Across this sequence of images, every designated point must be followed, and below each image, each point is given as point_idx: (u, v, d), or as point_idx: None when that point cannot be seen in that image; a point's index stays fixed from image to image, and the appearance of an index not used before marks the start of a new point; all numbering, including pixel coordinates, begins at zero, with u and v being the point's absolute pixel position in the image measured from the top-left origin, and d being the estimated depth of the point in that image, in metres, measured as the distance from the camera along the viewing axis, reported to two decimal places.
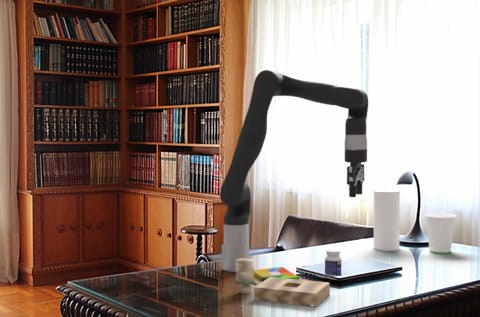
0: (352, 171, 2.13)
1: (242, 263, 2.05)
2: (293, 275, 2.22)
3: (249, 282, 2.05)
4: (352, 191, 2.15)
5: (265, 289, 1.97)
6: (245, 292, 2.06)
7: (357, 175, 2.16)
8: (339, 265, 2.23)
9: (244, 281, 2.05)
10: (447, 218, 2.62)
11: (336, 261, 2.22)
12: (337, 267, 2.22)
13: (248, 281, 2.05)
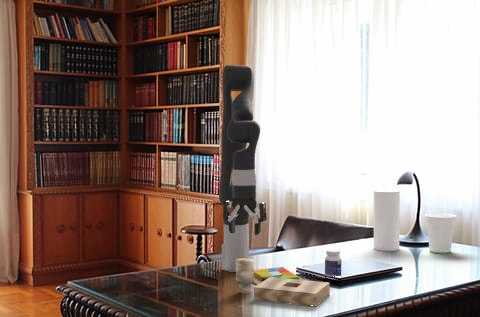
0: (265, 207, 2.04)
1: (242, 263, 2.05)
2: (293, 275, 2.22)
3: (249, 282, 2.05)
4: (260, 228, 2.05)
5: (265, 289, 1.97)
6: (245, 292, 2.06)
7: (255, 211, 2.07)
8: (339, 265, 2.23)
9: (244, 281, 2.05)
10: (447, 218, 2.62)
11: (336, 261, 2.22)
12: (337, 267, 2.22)
13: (248, 281, 2.05)
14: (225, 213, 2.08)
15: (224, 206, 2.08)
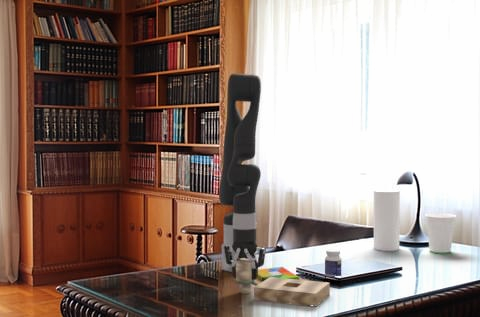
0: (264, 253, 2.05)
1: (242, 263, 2.05)
2: (293, 275, 2.22)
3: (249, 282, 2.05)
4: (257, 273, 2.06)
5: (265, 289, 1.97)
6: (245, 292, 2.06)
7: (254, 255, 2.08)
8: (339, 265, 2.23)
9: (244, 281, 2.05)
10: (447, 218, 2.62)
11: (336, 261, 2.22)
12: (337, 267, 2.22)
13: (248, 281, 2.05)
14: (228, 258, 2.09)
15: (225, 251, 2.09)
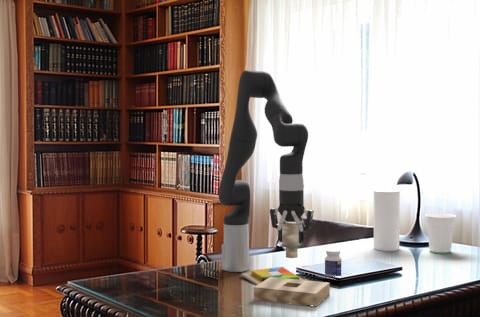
0: (312, 215, 1.98)
1: (289, 226, 1.97)
2: (293, 275, 2.22)
3: (296, 246, 1.98)
4: (304, 236, 1.99)
5: (265, 289, 1.97)
6: (292, 256, 1.99)
7: (301, 218, 2.00)
8: (339, 265, 2.23)
9: (291, 244, 1.98)
10: (447, 218, 2.62)
11: (336, 261, 2.22)
12: (337, 267, 2.22)
13: (295, 244, 1.98)
14: (273, 221, 2.01)
15: (271, 214, 2.02)
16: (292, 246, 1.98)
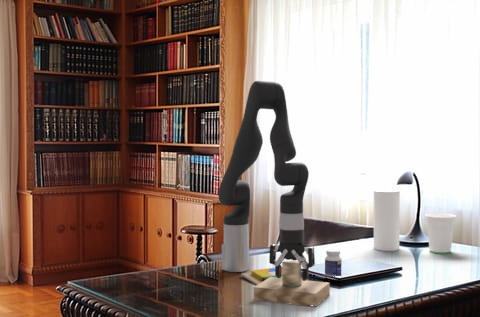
0: (313, 252, 1.98)
1: (289, 266, 1.98)
2: None
3: (297, 285, 1.99)
4: (308, 273, 1.99)
5: (265, 289, 1.97)
6: None
7: (303, 255, 2.01)
8: (339, 265, 2.23)
9: (291, 284, 1.98)
10: (447, 218, 2.62)
11: (336, 261, 2.22)
12: (337, 267, 2.22)
13: (296, 284, 1.99)
14: (272, 257, 2.02)
15: (270, 250, 2.02)
16: (292, 286, 1.98)
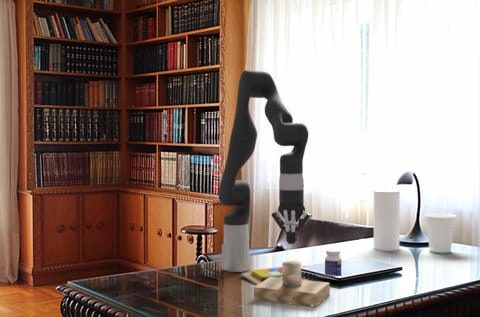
0: (309, 219, 1.98)
1: (289, 266, 1.98)
2: None
3: (297, 285, 1.99)
4: (296, 237, 2.00)
5: (265, 289, 1.97)
6: None
7: None
8: (339, 265, 2.23)
9: (291, 284, 1.98)
10: (447, 218, 2.62)
11: (336, 261, 2.22)
12: (337, 267, 2.22)
13: (296, 284, 1.99)
14: (280, 223, 2.01)
15: (274, 218, 2.01)
16: (292, 286, 1.98)
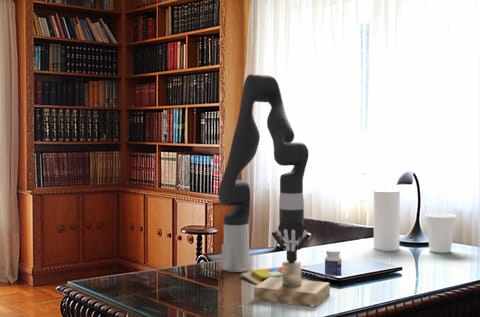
0: (308, 239, 1.99)
1: (289, 266, 1.98)
2: None
3: (297, 285, 1.99)
4: (296, 256, 2.00)
5: (265, 289, 1.97)
6: None
7: (298, 238, 2.01)
8: (339, 265, 2.23)
9: (291, 284, 1.98)
10: (447, 218, 2.62)
11: (336, 261, 2.22)
12: (337, 267, 2.22)
13: (296, 284, 1.99)
14: (280, 242, 2.01)
15: (275, 237, 2.01)
16: (292, 286, 1.98)
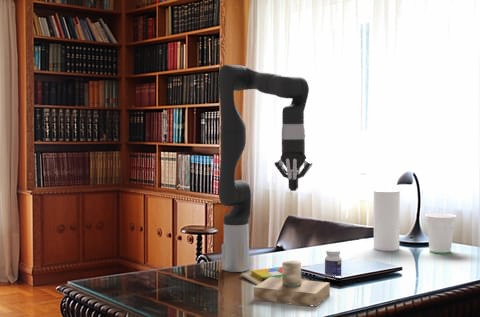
0: (309, 167, 2.11)
1: (289, 266, 1.98)
2: None
3: (297, 285, 1.99)
4: (297, 184, 2.13)
5: (265, 289, 1.97)
6: None
7: (299, 168, 2.13)
8: (339, 265, 2.23)
9: (291, 284, 1.98)
10: (447, 218, 2.62)
11: (336, 261, 2.22)
12: (337, 267, 2.22)
13: (296, 284, 1.99)
14: (282, 171, 2.13)
15: (277, 167, 2.14)
16: (292, 286, 1.98)
